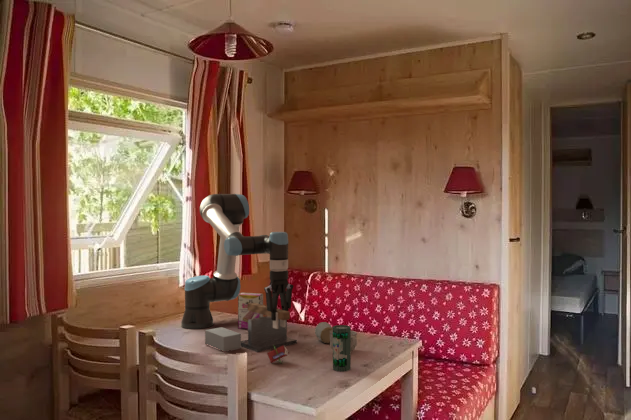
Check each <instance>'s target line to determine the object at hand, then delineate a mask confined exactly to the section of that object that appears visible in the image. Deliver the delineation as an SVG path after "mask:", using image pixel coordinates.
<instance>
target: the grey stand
mask: <svg viewBox="0 0 631 420" xmlns="http://www.w3.org/2000/svg"><path fill="white" fill-rule="evenodd" d="M241 334H242V333H241V332H237V331H234V330H231V329H228V328H225V327H222V326H221V327H216V328H215V327H214V328H210V329H205V330H204V345H205V344H208V345H211V346H213V347H216V348H218V349H220V350H223V351H227V352H229V351H228V350H231V351H234V350H235V351H236V350H240V349H242V346H241V341H242V335H241ZM208 345H207V346H208ZM213 347H212V348H213ZM220 350H219V351H220Z"/></svg>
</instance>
